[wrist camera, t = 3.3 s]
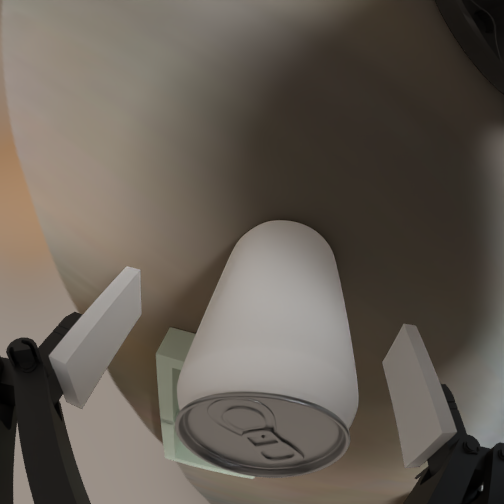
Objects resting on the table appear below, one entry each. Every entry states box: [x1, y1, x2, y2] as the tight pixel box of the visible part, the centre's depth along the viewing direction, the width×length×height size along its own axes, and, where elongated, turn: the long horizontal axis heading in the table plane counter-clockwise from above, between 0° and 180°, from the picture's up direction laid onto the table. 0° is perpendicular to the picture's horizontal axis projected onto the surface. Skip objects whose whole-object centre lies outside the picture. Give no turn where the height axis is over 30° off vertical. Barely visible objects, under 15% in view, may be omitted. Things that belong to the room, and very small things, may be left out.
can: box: [175, 220, 359, 478], centre depth 14 cm, size 6×6×12 cm
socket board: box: [156, 327, 255, 479], centre depth 25 cm, size 10×18×3 cm, turn 170°
